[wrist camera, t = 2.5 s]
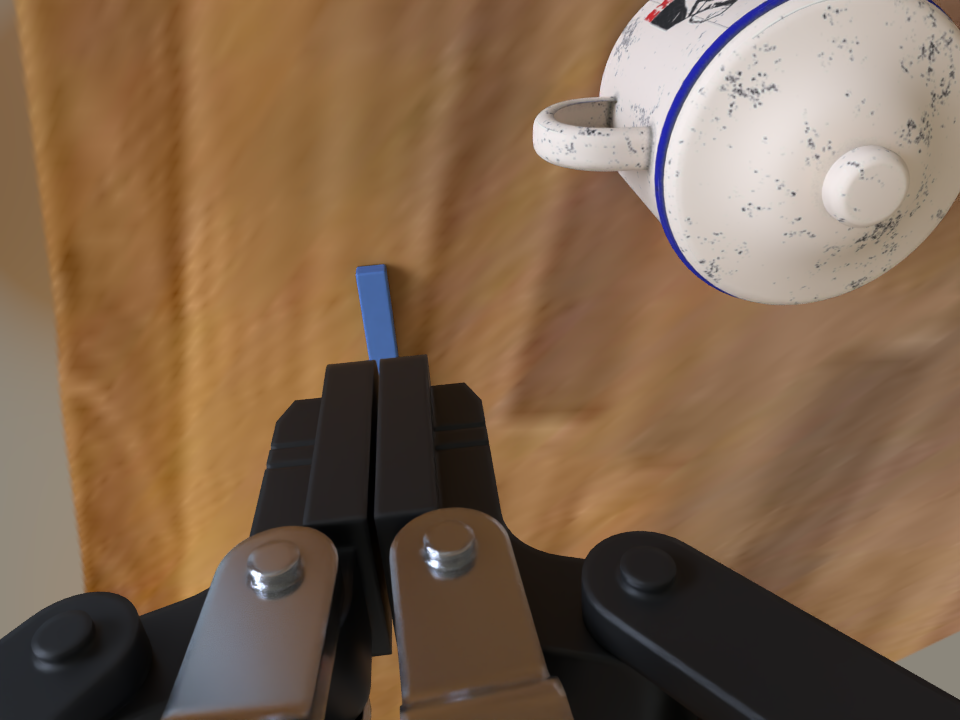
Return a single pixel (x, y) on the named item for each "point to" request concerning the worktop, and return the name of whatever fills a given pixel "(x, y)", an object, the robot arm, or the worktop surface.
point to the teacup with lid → (777, 136)
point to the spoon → (377, 312)
